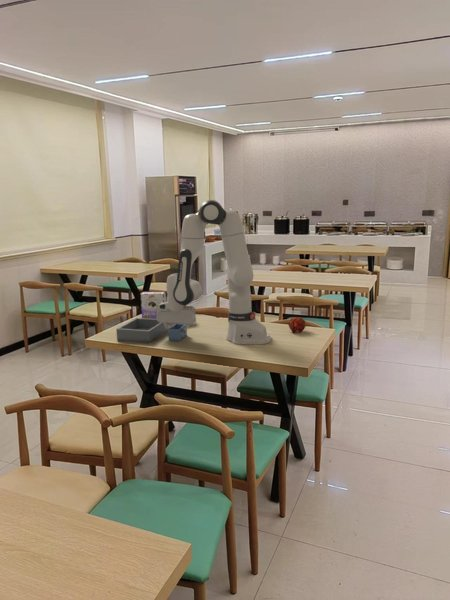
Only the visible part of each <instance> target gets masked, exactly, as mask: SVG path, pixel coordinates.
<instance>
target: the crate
mask: <svg viewBox="0 0 450 600" xmlns="http://www.w3.org/2000/svg"><path fill="white" fill-rule="evenodd" d="M166 332H167V331H166V328H165V326H164V323H163V322H158V321H157V319H145V318H142V317H135V318H134V319H132V320H130V321H128V322H126V323H125V324H123V325H121V326H119V327H118V328H116V341H121V342H135V343H144V344H145V343H147V344H150V343H152V342H153V341H155V340H156V339H157V338H159V337H161V336H162V335H163V334H164V333H166ZM161 334H162V335H161ZM154 339H155V340H154Z"/></svg>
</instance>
